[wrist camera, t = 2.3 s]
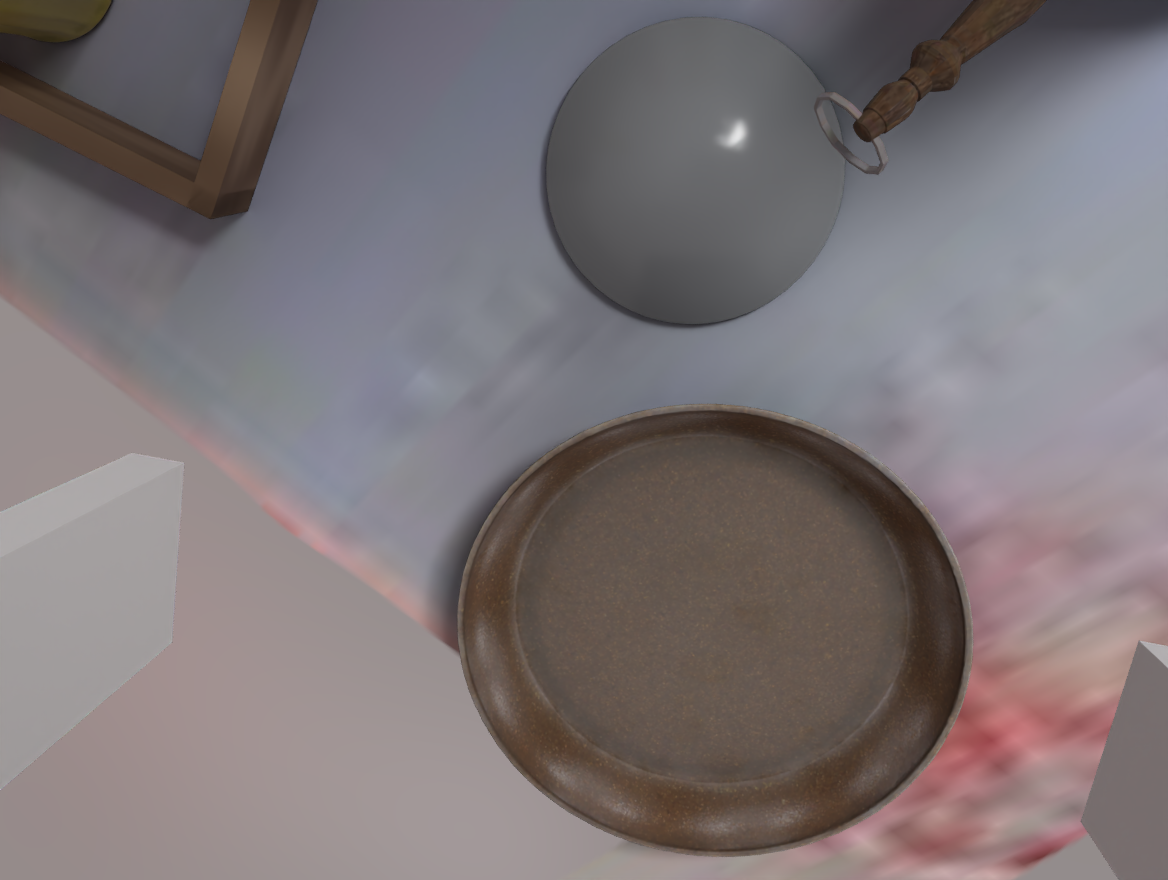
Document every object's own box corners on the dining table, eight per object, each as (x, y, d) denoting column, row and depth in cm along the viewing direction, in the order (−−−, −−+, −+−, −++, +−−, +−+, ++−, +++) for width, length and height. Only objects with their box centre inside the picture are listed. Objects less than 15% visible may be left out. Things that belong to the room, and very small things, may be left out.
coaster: (625, -37, 35) (624, -39, 35) (902, 103, 36) (904, 102, 35) (503, 243, 39) (500, 245, 39) (753, 369, 39) (753, 372, 39)
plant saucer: (1067, 560, 40) (1093, 598, 37) (771, 885, 47) (773, 940, 44) (633, 284, 39) (623, 300, 36) (398, 658, 46) (373, 698, 43)
